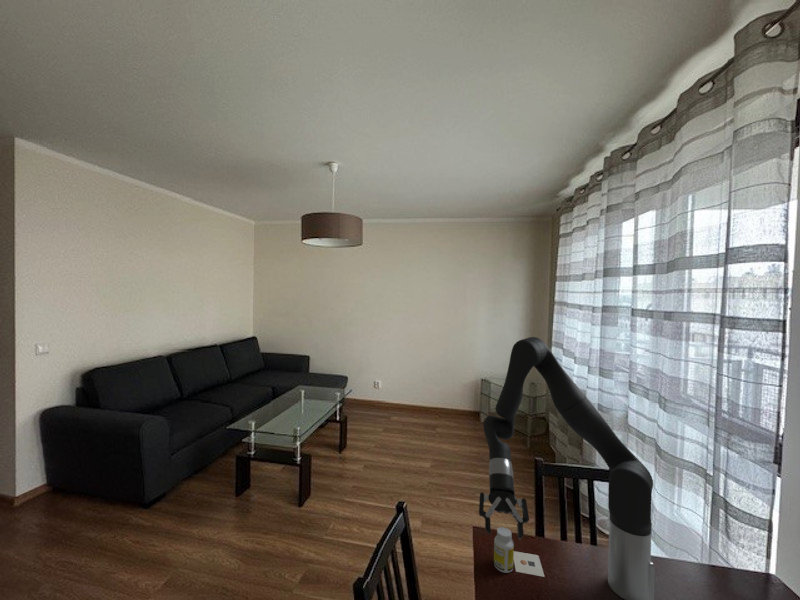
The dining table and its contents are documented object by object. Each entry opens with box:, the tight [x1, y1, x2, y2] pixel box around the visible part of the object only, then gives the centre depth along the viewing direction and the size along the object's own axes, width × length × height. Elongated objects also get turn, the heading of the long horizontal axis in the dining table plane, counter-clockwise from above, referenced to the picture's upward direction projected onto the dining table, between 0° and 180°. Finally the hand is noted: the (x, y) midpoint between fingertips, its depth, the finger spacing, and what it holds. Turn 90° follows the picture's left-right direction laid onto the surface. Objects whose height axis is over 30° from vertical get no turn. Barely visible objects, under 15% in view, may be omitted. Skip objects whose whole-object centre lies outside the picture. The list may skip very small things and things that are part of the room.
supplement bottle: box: [493, 526, 515, 574], centre depth 94 cm, size 5×5×10 cm
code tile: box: [513, 550, 546, 578], centre depth 96 cm, size 8×8×1 cm
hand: (504, 536), depth 95 cm, fingers open, 8 cm apart
